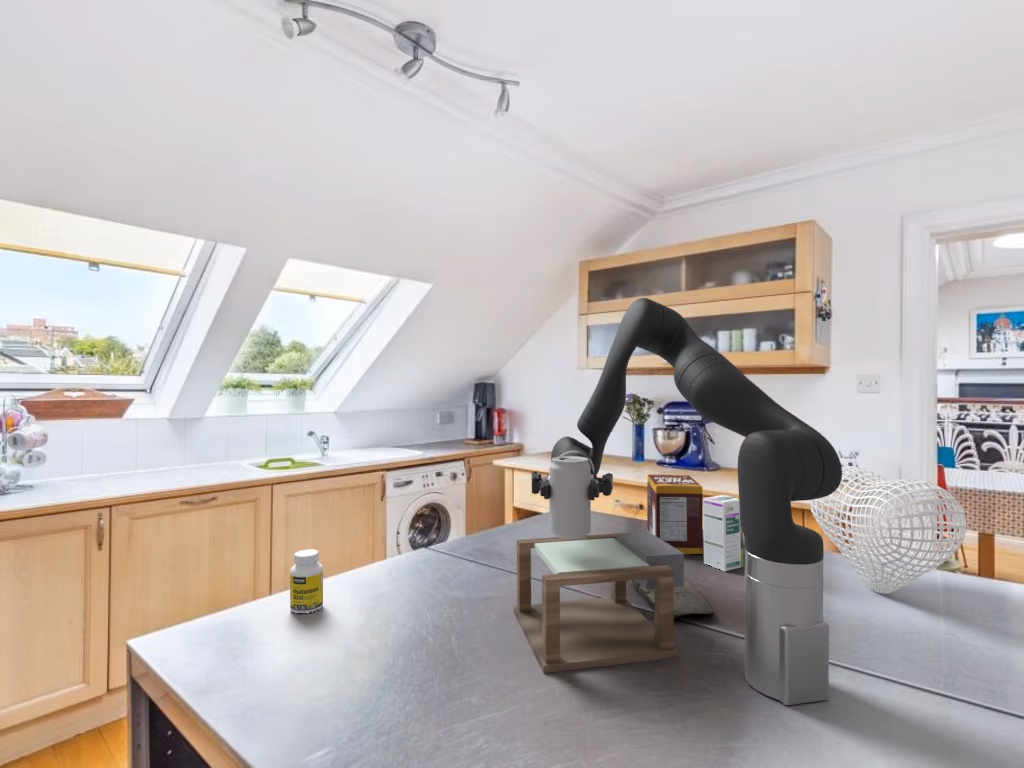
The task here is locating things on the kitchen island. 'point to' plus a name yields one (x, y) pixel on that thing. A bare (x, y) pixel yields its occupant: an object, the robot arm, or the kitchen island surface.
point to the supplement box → (676, 511)
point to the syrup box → (722, 533)
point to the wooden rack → (593, 616)
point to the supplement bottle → (306, 582)
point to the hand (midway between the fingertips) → (569, 493)
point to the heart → (883, 484)
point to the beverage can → (570, 497)
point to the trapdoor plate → (613, 555)
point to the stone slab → (678, 599)
